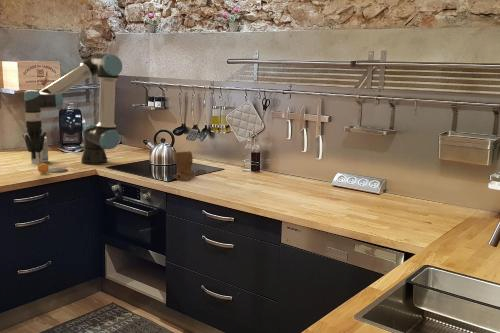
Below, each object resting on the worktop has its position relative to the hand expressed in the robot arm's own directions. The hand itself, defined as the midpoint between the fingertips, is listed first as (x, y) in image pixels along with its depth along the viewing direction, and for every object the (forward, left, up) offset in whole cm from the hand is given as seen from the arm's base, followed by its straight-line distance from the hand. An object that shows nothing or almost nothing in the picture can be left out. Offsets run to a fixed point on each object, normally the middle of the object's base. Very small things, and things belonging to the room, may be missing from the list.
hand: (36, 164), depth 278 cm
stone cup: (-72, +30, -6) cm, 78 cm away
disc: (-11, -7, -6) cm, 14 cm away
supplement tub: (-5, -35, -6) cm, 36 cm away
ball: (-4, -2, -3) cm, 5 cm away
